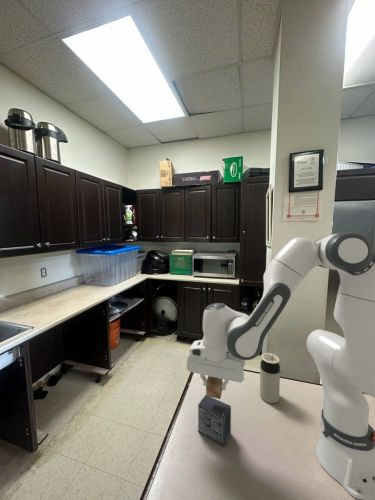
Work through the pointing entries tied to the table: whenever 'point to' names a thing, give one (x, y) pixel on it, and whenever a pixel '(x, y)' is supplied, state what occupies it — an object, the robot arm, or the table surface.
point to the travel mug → (269, 378)
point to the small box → (214, 420)
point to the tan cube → (214, 387)
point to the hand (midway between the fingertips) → (214, 386)
